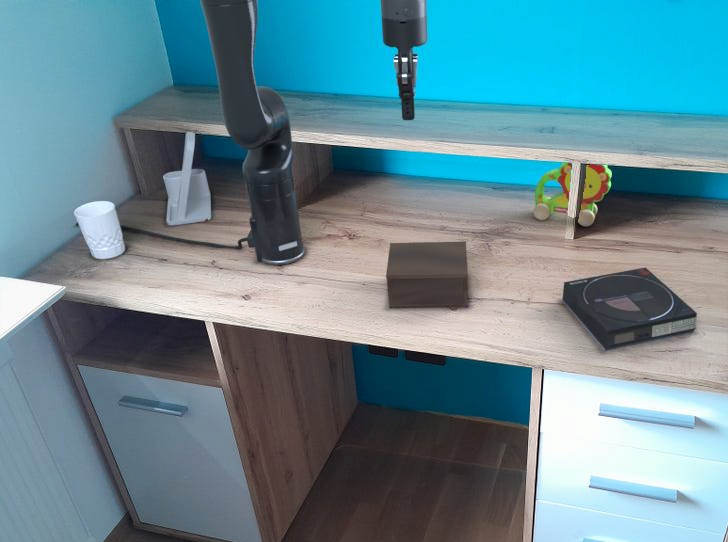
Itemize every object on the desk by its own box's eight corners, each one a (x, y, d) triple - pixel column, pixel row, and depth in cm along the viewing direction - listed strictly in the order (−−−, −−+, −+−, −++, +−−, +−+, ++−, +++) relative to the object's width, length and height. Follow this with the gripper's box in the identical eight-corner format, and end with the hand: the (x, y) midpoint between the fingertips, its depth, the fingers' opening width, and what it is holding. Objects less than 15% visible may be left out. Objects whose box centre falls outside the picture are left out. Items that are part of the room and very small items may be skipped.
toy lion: (531, 220, 155) (535, 153, 145) (537, 210, 159) (542, 144, 150) (603, 229, 150) (611, 161, 141) (607, 219, 154) (616, 152, 145)
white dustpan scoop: (169, 196, 171) (149, 123, 160) (211, 191, 173) (194, 119, 162) (166, 226, 158) (145, 148, 147) (212, 219, 160) (194, 143, 149)
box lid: (467, 277, 122) (467, 273, 121) (386, 279, 122) (386, 275, 122) (465, 245, 131) (465, 241, 131) (390, 246, 132) (390, 242, 131)
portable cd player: (606, 353, 114) (609, 333, 111) (562, 301, 127) (564, 282, 125) (694, 334, 117) (699, 315, 115) (642, 286, 130) (645, 267, 128)
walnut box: (467, 307, 126) (467, 275, 122) (389, 308, 127) (386, 276, 123) (465, 276, 135) (465, 245, 131) (392, 277, 136) (390, 246, 132)
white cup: (112, 240, 152) (97, 198, 147) (136, 248, 149) (122, 205, 143) (81, 255, 147) (65, 212, 141) (106, 264, 144) (90, 219, 138)
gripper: (384, 5, 119) (390, 108, 129) (377, 21, 108) (385, 131, 119) (427, 4, 119) (430, 107, 129) (425, 20, 108) (428, 131, 119)
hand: (408, 118), depth 124 cm, fingers closed
